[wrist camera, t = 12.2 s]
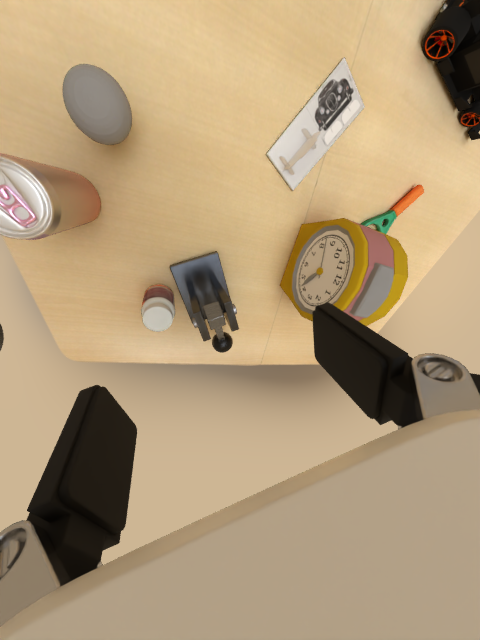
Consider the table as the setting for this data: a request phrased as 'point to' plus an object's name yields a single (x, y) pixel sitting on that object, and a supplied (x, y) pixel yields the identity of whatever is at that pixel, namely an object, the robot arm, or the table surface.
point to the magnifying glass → (395, 210)
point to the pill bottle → (158, 308)
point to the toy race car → (459, 56)
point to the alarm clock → (345, 270)
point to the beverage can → (42, 199)
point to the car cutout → (317, 126)
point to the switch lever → (218, 327)
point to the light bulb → (97, 104)
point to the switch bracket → (204, 289)
